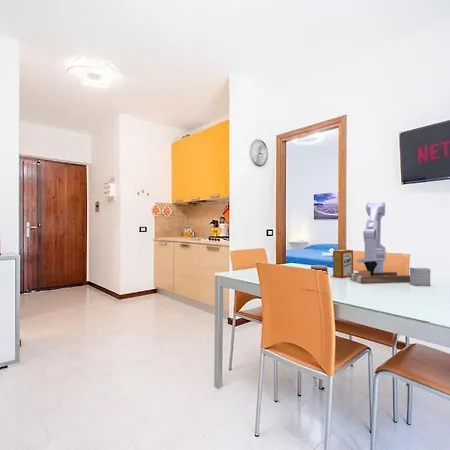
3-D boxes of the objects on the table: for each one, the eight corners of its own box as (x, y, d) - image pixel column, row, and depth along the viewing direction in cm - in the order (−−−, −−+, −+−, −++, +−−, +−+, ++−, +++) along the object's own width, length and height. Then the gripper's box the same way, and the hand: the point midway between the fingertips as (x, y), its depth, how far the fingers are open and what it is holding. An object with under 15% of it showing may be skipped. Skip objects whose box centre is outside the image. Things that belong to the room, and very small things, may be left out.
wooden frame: (350, 279, 173) (350, 273, 173) (395, 278, 175) (395, 272, 175) (361, 283, 161) (361, 277, 161) (410, 282, 163) (410, 275, 163)
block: (358, 276, 169) (358, 270, 169) (366, 276, 170) (365, 270, 170) (362, 278, 165) (362, 272, 165) (370, 278, 165) (370, 271, 165)
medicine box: (425, 284, 158) (425, 267, 158) (430, 286, 154) (430, 268, 154) (409, 284, 159) (409, 267, 159) (414, 285, 155) (413, 268, 154)
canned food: (315, 285, 157) (315, 264, 157) (330, 288, 152) (330, 265, 151) (307, 288, 152) (307, 266, 152) (322, 290, 146) (322, 267, 146)
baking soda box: (342, 278, 177) (341, 250, 177) (333, 276, 182) (332, 249, 182) (353, 276, 181) (353, 249, 181) (344, 275, 187) (343, 248, 187)
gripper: (361, 251, 163) (361, 277, 163) (387, 251, 164) (387, 276, 164) (354, 250, 170) (355, 274, 170) (379, 249, 171) (379, 274, 171)
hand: (370, 275), depth 168 cm, fingers closed
